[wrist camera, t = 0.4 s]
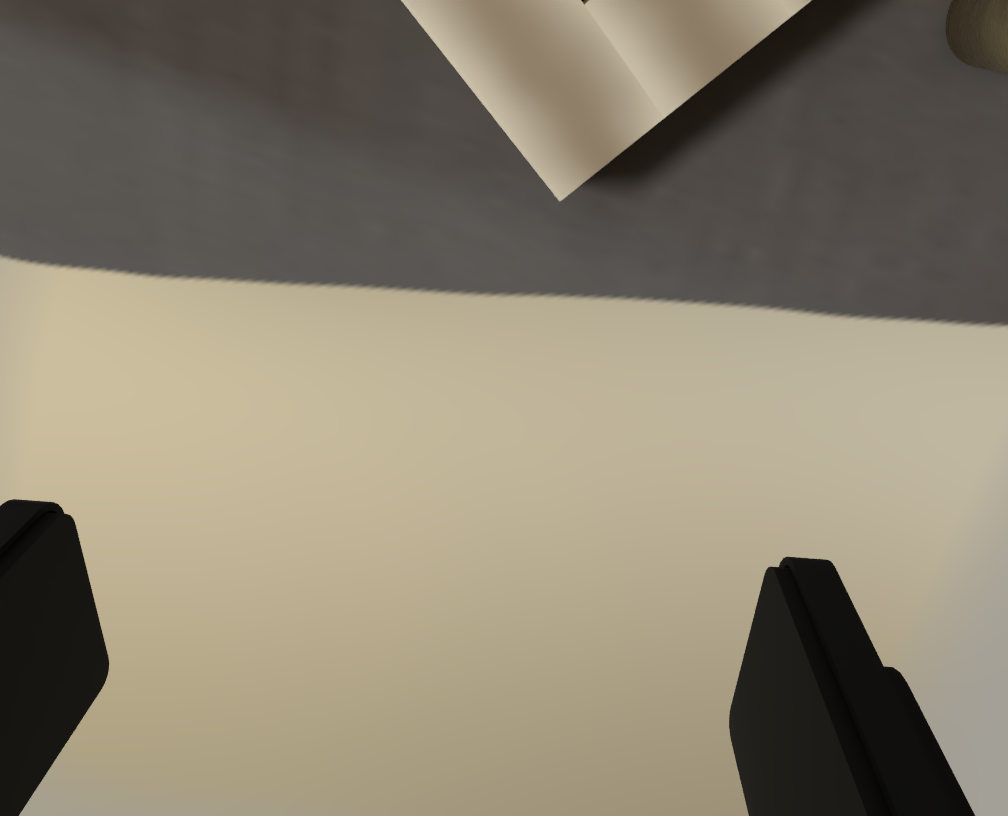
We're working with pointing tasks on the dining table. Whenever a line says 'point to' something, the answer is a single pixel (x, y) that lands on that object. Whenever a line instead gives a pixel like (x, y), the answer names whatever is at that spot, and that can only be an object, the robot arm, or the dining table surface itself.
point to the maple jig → (591, 67)
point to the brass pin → (979, 33)
